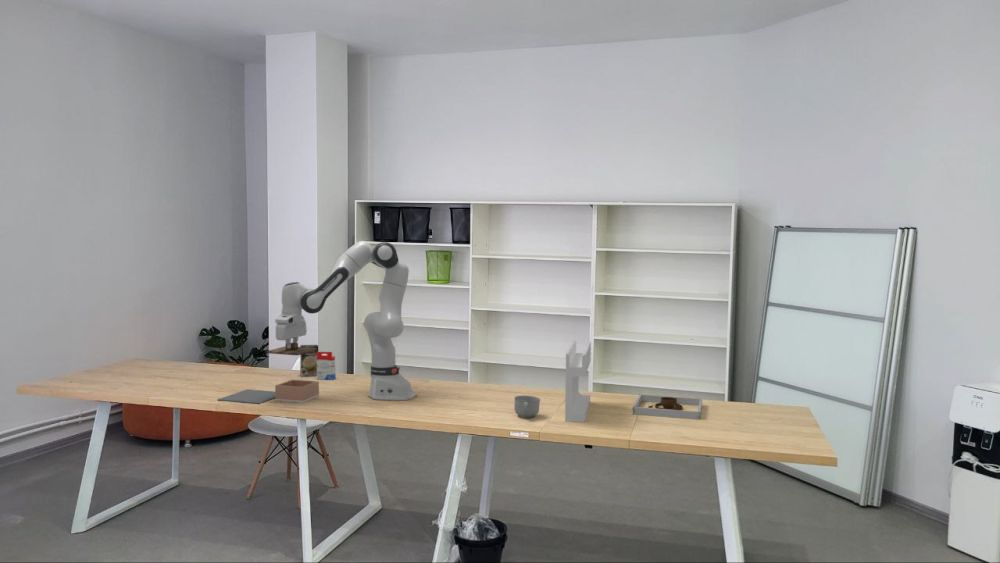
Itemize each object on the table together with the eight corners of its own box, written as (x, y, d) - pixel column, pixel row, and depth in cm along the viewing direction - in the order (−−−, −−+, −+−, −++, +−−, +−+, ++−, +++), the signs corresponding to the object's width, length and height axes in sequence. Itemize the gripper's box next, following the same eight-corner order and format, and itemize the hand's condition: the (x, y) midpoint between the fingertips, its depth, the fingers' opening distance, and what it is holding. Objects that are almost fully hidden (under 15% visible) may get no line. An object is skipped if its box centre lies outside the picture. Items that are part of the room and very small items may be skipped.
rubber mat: (287, 393, 353) (287, 392, 353) (259, 404, 332) (259, 402, 332) (247, 390, 359) (247, 389, 359) (217, 400, 338) (217, 399, 338)
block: (572, 401, 340) (573, 341, 338) (589, 402, 339) (590, 341, 337) (565, 421, 306) (565, 354, 304) (584, 422, 304) (585, 354, 302)
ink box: (335, 378, 389) (335, 350, 388) (332, 380, 384) (332, 352, 383) (319, 377, 390) (319, 350, 389) (316, 379, 385) (316, 351, 384)
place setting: (692, 409, 330) (692, 396, 330) (680, 419, 313) (680, 405, 313) (653, 404, 339) (654, 391, 338) (639, 413, 321) (640, 400, 321)
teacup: (518, 412, 321) (518, 393, 320) (542, 414, 318) (542, 395, 317) (509, 420, 307) (509, 401, 307) (534, 422, 304) (534, 403, 304)
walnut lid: (316, 350, 347) (316, 341, 347) (297, 355, 332) (297, 346, 332) (286, 348, 352) (286, 339, 352) (266, 353, 337) (266, 344, 336)
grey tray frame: (702, 405, 335) (702, 398, 335) (700, 419, 310) (700, 412, 310) (639, 400, 343) (639, 394, 343) (632, 414, 318) (632, 407, 318)
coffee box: (300, 377, 391) (300, 346, 390) (300, 374, 397) (299, 345, 396) (318, 376, 394) (318, 346, 393) (317, 373, 400) (317, 344, 399)
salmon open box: (318, 396, 348) (318, 381, 348) (302, 402, 335) (302, 387, 334) (292, 394, 352) (292, 379, 352) (275, 400, 339) (275, 385, 338)
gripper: (298, 315, 352) (298, 344, 353) (272, 319, 332) (273, 350, 333) (309, 315, 350) (309, 344, 351) (285, 320, 330) (285, 351, 331)
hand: (291, 347), depth 342 cm, fingers closed on walnut lid, 2 cm apart
